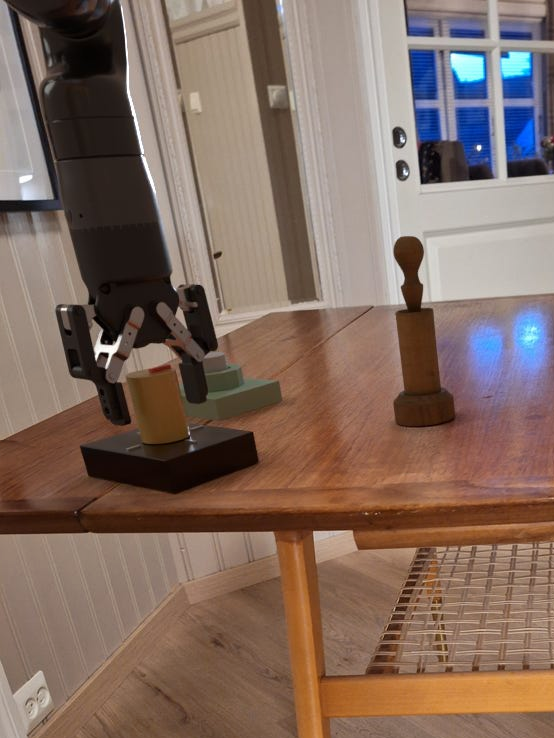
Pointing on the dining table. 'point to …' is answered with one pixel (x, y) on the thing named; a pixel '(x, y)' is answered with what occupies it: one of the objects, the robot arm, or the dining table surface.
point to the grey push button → (215, 362)
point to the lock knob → (158, 405)
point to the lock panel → (170, 458)
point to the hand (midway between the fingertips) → (161, 413)
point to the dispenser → (232, 395)
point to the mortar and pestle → (418, 348)
